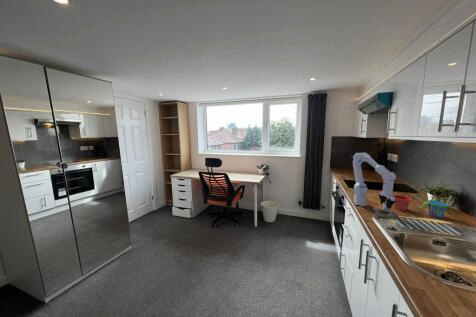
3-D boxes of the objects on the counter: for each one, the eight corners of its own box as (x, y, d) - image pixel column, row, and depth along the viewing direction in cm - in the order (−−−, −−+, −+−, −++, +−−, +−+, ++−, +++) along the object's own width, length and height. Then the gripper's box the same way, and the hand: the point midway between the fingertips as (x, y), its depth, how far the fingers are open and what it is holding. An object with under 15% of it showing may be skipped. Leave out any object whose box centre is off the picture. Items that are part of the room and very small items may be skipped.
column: (380, 209, 139) (381, 201, 138) (387, 210, 138) (388, 202, 137) (383, 211, 136) (384, 203, 135) (389, 212, 135) (390, 204, 134)
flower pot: (406, 213, 139) (408, 200, 138) (389, 208, 148) (390, 196, 147) (411, 209, 145) (412, 197, 144) (393, 205, 154) (395, 193, 153)
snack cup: (448, 215, 134) (450, 202, 133) (454, 221, 125) (456, 207, 124) (418, 210, 143) (420, 198, 141) (422, 216, 134) (424, 202, 133)
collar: (372, 210, 145) (372, 205, 144) (390, 212, 141) (391, 207, 141) (378, 217, 134) (379, 212, 133) (398, 219, 130) (399, 214, 129)
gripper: (376, 185, 142) (374, 202, 144) (387, 191, 128) (385, 210, 130) (386, 186, 141) (384, 202, 143) (399, 192, 127) (396, 210, 129)
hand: (385, 206), depth 136 cm, fingers open, 7 cm apart
